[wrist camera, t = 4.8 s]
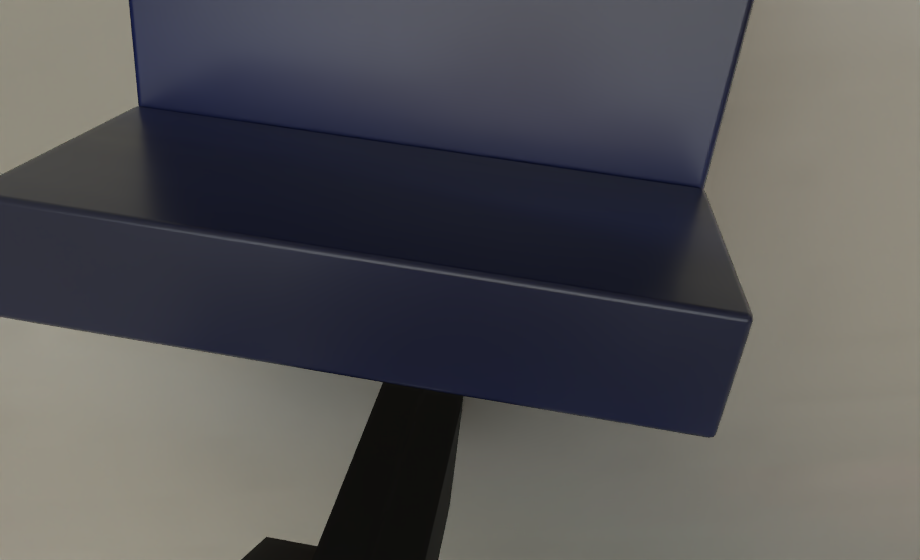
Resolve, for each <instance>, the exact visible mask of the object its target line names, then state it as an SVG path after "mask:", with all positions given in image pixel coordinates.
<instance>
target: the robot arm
mask: <svg viewBox="0 0 920 560" xmlns="http://www.w3.org/2000/svg"><path fill="white" fill-rule="evenodd" d="M462 404H463V396H462V395H456V394H450V393H444V392H438V391H432V390H426V389H421V388H415V387H409V386H403V385H397V384H391V383H385V382H383V384H382V386H381V389H380V391H379V394H378V396H377V399H376V401H375V404H374V406H373V409H372V411H371V414H370V416H369V419H368V421H367V424H366V426H365V429H364V431H363V434H362V436H361V439H360V441H359V444H358V446H357V449H356V451H355V454H354V456H353V459H352V461H351V464H350V466H349V469H348V471H347V474H346V476H345V479H344V481H343V484H342V486H341V489H340V491H339V494H338V496H337V499H336V501H335V504H334V506H333V509H332V511H331V514H330V516H329V519H328V521H327V524H326V526H325V529H324V531H323V534H322V536H321V539H320V541H319V544H318V546H312V545H307V544H302V543H296V542H291V541H286V540H280V539H275V538H270V537H266V538H265V539H264V540H262V541H261V542H260V543H259V544H258V545H257V546H256V547H255V548H254V549H252V550H251V551H250V552H249V553H248V554H247V555H246V556H245V557H244V558H243V559H241V560H438V557H439V553H440V548H441V543H442V539H443V534H444V530H445V525H446V520H447V516H448V511H449V506H450V499H451V491H452V483H453V475H454V467H455V459H456V451H457V444H458V436H459V428H460V420H461V412H462Z"/></svg>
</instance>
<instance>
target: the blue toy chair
mask: <svg viewBox="0 0 920 560" xmlns="http://www.w3.org/2000/svg"><path fill="white" fill-rule="evenodd" d="M753 3H754V0H129V7H130V18H131V28H132V39H133V50H134V61H135V71H136V82H137V93H138V103H139V107H134V108H132V109H130V110H128V111H126V112H124V113H123V114H121V115H119V116H117V117H115V118H113V119H111V120H109V121H107V122H105V123H103V124H101V125H99V126H97V127H95V128H93V129H91V130H89V131H87V132H85V133H83V134H81V135H79V136H77V137H75V138H73V139H71V140H69V141H67V142H65V143H63V144H61V145H59V146H57V147H55V148H53V149H51V150H49V151H47V152H45V153H43V154H41V155H39V156H37V157H35V158H33V159H31V160H29V161H28V162H26V163H24V164H22V165H20V166H18V167H16V168H14V169H12V170H10V171H8V172H6V173H4V174H2V175H0V317H4V318H10V319H16V320H22V321H27V322H33V323H39V324H45V325H51V326H57V327H63V328H68V329H74V330H80V331H86V332H92V333H98V334H104V335H110V336H115V337H121V338H127V339H133V340H139V341H145V342H151V343H156V344H162V345H168V346H174V347H180V348H186V349H192V350H198V351H203V352H209V353H215V354H221V355H227V356H233V357H239V358H245V359H250V360H256V361H262V362H268V363H274V364H280V365H286V366H291V367H297V368H303V369H309V370H315V371H321V372H327V373H333V374H338V375H344V376H350V377H356V378H362V379H368V380H374V381H379V382H385V383H391V384H397V385H403V386H409V387H415V388H421V389H426V390H432V391H438V392H444V393H450V394H456V395H462V396H467V397H473V398H479V399H485V400H491V401H497V402H503V403H509V404H514V405H520V406H526V407H532V408H538V409H544V410H550V411H555V412H561V413H567V414H573V415H579V416H585V417H591V418H597V419H602V420H608V421H614V422H620V423H626V424H632V425H638V426H643V427H649V428H655V429H661V430H667V431H673V432H679V433H685V434H690V435H696V436H702V437H708V438H710V437H714V435H715V434H716V432H717V429H718V426H719V423H720V420H721V417H722V414H723V411H724V408H725V405H726V402H727V399H728V396H729V393H730V390H731V387H732V383H733V380H734V377H735V374H736V371H737V368H738V365H739V362H740V359H741V356H742V353H743V350H744V347H745V344H746V341H747V338H748V335H749V332H750V328H751V325H752V322H753V316H752V313H751V310H750V308H749V305H748V302H747V300H746V297H745V295H744V292H743V289H742V287H741V284H740V282H739V279H738V276H737V274H736V271H735V269H734V266H733V263H732V261H731V258H730V256H729V253H728V250H727V248H726V245H725V243H724V240H723V237H722V235H721V232H720V230H719V227H718V224H717V222H716V219H715V217H714V214H713V211H712V209H711V206H710V204H709V201H708V198H707V196H706V193H705V191H704V186H705V182H706V179H707V175H708V171H709V167H710V164H711V160H712V156H713V152H714V149H715V145H716V141H717V137H718V134H719V130H720V126H721V123H722V119H723V115H724V111H725V108H726V104H727V100H728V96H729V93H730V89H731V85H732V81H733V78H734V74H735V70H736V66H737V63H738V59H739V55H740V51H741V48H742V44H743V40H744V36H745V33H746V29H747V25H748V21H749V18H750V14H751V10H752V7H753Z"/></svg>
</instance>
